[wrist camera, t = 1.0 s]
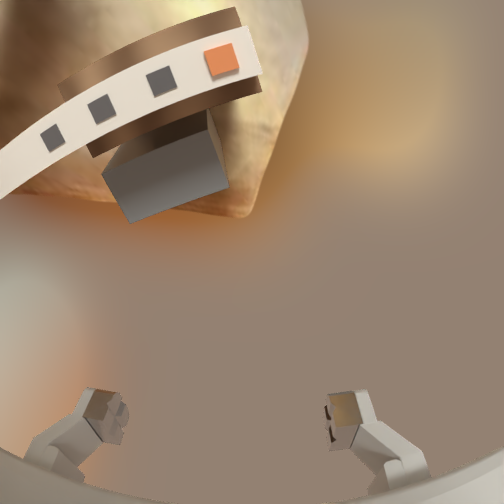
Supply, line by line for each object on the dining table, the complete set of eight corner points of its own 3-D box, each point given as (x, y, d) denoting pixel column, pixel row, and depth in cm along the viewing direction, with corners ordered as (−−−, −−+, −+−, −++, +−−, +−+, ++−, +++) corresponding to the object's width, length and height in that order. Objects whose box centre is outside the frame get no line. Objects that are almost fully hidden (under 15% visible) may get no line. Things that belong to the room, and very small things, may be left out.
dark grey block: (148, 169, 52) (130, 223, 38) (130, 131, 47) (101, 174, 33) (220, 141, 51) (229, 187, 37) (206, 100, 46) (207, 129, 32)
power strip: (13, 184, 23) (-2, 201, 21) (-4, 154, 21) (-22, 169, 18) (256, 70, 22) (263, 74, 19) (242, 27, 19) (248, 25, 16)
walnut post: (142, 102, 44) (93, 158, 24) (125, 62, 39) (57, 84, 19) (233, 68, 43) (262, 91, 23) (218, 25, 38) (234, 6, 18)
